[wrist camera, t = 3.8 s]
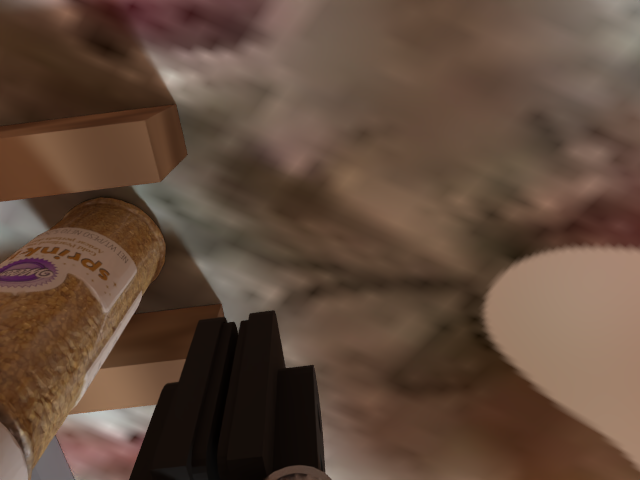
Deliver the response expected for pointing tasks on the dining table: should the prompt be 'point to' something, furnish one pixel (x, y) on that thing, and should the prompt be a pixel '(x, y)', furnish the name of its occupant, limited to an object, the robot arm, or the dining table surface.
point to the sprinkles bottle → (66, 318)
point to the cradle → (52, 464)
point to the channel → (101, 173)
